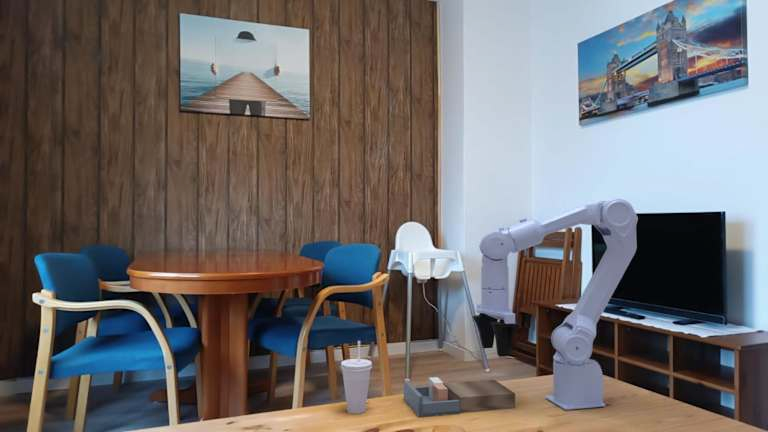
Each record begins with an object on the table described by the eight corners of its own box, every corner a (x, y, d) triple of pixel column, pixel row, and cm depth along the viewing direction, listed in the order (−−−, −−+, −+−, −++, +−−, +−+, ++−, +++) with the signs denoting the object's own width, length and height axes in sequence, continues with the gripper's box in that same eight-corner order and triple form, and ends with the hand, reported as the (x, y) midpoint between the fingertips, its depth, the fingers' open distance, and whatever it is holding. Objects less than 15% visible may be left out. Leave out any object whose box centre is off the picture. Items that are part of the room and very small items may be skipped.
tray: (441, 396, 115) (441, 377, 115) (459, 413, 104) (459, 393, 104) (403, 399, 113) (403, 380, 113) (418, 417, 102) (418, 396, 102)
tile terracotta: (441, 382, 109) (432, 383, 109) (447, 388, 105) (438, 389, 105) (441, 402, 109) (432, 402, 109) (447, 408, 105) (438, 409, 105)
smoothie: (368, 417, 102) (368, 345, 103) (336, 414, 104) (336, 343, 104) (375, 406, 109) (375, 338, 109) (345, 404, 110) (345, 337, 110)
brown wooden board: (493, 392, 117) (493, 379, 117) (515, 407, 108) (515, 393, 108) (443, 396, 115) (443, 383, 115) (460, 412, 105) (460, 397, 105)
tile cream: (437, 377, 114) (428, 377, 113) (443, 382, 110) (434, 383, 109) (437, 395, 114) (428, 396, 113) (443, 401, 110) (434, 402, 109)
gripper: (464, 285, 119) (464, 345, 118) (492, 292, 105) (492, 361, 104) (493, 284, 120) (493, 343, 120) (524, 291, 106) (524, 359, 106)
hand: (495, 351), depth 112 cm, fingers open, 7 cm apart
